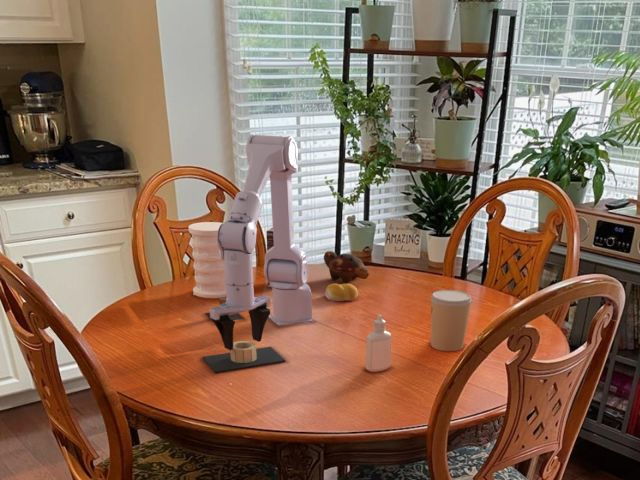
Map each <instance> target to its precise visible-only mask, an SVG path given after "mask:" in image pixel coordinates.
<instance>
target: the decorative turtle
mask: <svg viewBox="0 0 640 480" xmlns="http://www.w3.org/2000/svg"><path fill="white" fill-rule="evenodd" d="M323 261H324V264H325V266H326V267H327V268H328V271H329V275H330V278H331V280H332V281H337V280H339V279H340V280H342V282H343V284H349V282H350V281H351V280H355V279H357V278H358V279H363V280H366V279H368V278H369V277H370V270H369V269H367V268H365V264H364V262H363V260H362V259H361V258H359V257H357V255H354V254H352V253H341V254H339V255H337V252H335V251H333V250H328V251H326V252H325V253H324V254H323Z"/></svg>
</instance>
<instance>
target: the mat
mask: <svg viewBox="0 0 640 480" xmlns="http://www.w3.org/2000/svg"><path fill="white" fill-rule="evenodd" d="M256 357H257V359H256V360H255V361H253V362H249V363H237V362H234V361H232V360H231V354H230V352H225V353H220V354H219V353H218V354H213V355H205V356H202V360H204V362H205V363H206V364H207V365H208V366H209V368H210V369H211V370H212V371H213V372H214V374H217V373H223V372H229V371H230V372H231V371H237V370H242V369H248V368H255V367H261V366H267V365H273V364H280V363H285V362H286V359H285V358H283V356H282V355H280V354H279V352H277V351H276V350H275V349H274V348H273V347H272V346H265V347H258V348H256Z"/></svg>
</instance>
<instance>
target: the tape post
mask: <svg viewBox="0 0 640 480" xmlns="http://www.w3.org/2000/svg"><path fill="white" fill-rule="evenodd" d="M226 300H227V297H221V298H218V304H219V305H221V304H223V303H225V302H226ZM219 305H218V306H219ZM204 315H205V316H206V317H207V318H208V319H209V320H210V321H211V322H212V323H213V324H214V322H213V321H212V318H210V312H204ZM229 317H230V319H231V320H233V321H239V320H244V319H245V317H244V316H243V315H242V314H241V313H237V314H233V315H229Z"/></svg>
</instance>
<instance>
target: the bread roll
mask: <svg viewBox="0 0 640 480" xmlns="http://www.w3.org/2000/svg"><path fill="white" fill-rule="evenodd" d="M358 295H359V291H358V289H357V287H356V286H355V285H353V284H351V283H341V284H339V283H330V284H328V286H326V289H325V293H324V296H325V297H326V299H327V300H329V301H333V302H345V301H348V302H351V301H355V299H356V298H357V297H358Z"/></svg>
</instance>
